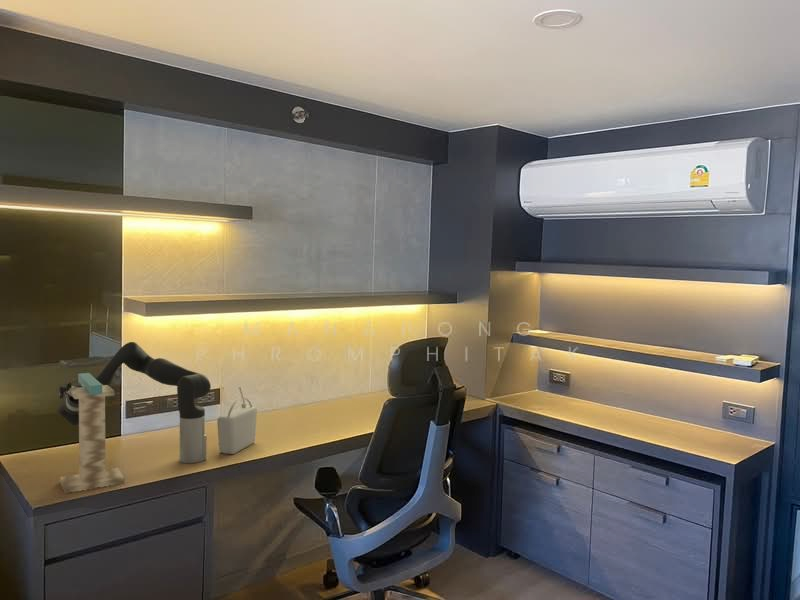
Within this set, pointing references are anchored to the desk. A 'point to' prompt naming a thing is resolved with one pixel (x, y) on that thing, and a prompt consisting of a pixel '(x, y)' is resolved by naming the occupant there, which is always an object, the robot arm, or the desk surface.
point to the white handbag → (237, 428)
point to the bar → (90, 383)
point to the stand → (91, 444)
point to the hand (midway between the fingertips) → (83, 383)
